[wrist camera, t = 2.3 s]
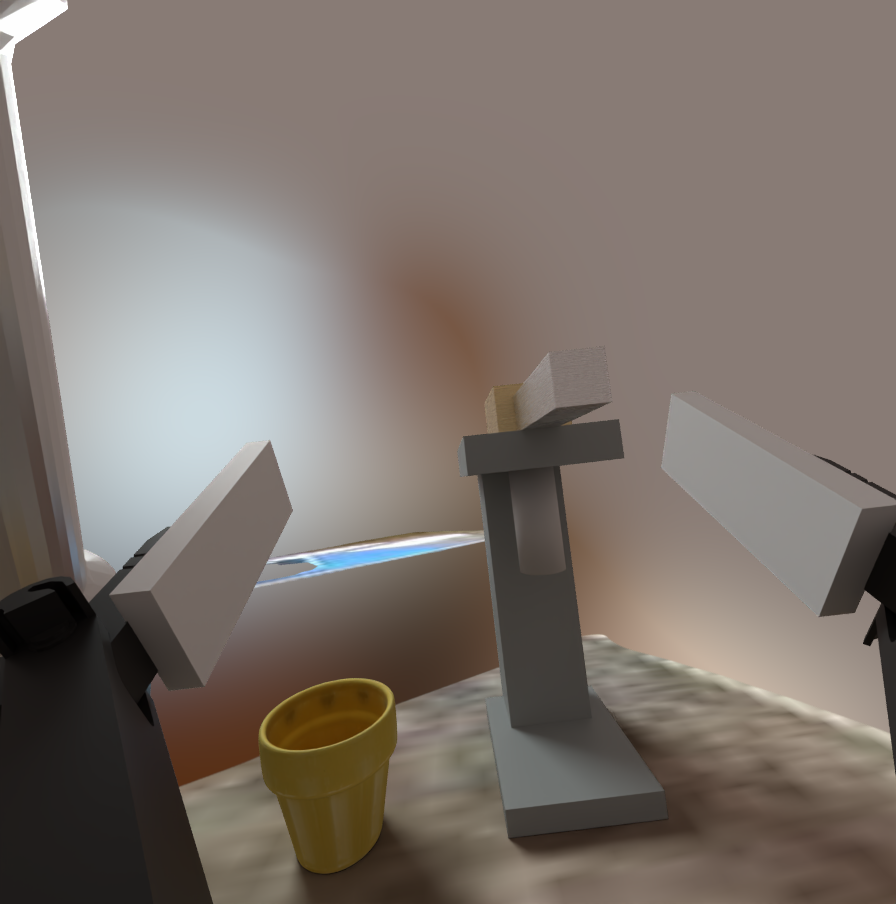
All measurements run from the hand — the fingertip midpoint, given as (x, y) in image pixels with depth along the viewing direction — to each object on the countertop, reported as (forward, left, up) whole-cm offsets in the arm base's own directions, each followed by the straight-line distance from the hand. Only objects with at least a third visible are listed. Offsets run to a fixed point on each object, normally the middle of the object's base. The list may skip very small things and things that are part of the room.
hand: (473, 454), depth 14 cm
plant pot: (-12, +21, -28) cm, 37 cm away
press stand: (+7, +26, -28) cm, 39 cm away
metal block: (+7, +17, +2) cm, 18 cm away
